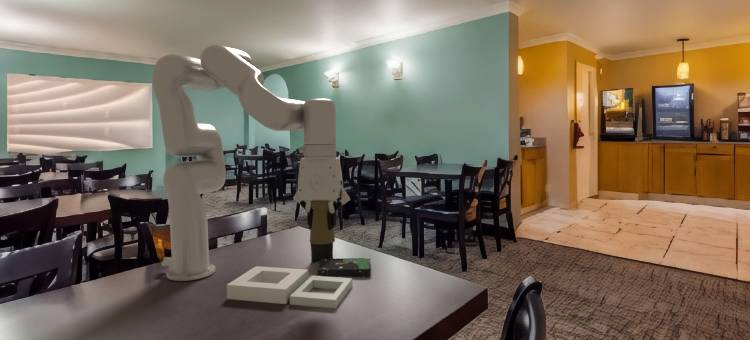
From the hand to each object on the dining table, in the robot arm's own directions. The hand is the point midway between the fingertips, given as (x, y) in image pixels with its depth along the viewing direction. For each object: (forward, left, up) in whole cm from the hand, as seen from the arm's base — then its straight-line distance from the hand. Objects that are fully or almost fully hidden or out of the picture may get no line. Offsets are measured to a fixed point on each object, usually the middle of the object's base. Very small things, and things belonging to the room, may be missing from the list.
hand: (322, 227), depth 99 cm
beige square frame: (-14, 0, -17) cm, 22 cm away
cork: (0, 0, -3) cm, 3 cm away
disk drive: (0, +18, -17) cm, 25 cm away
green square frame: (0, 0, -17) cm, 17 cm away
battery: (-10, +26, -17) cm, 32 cm away
